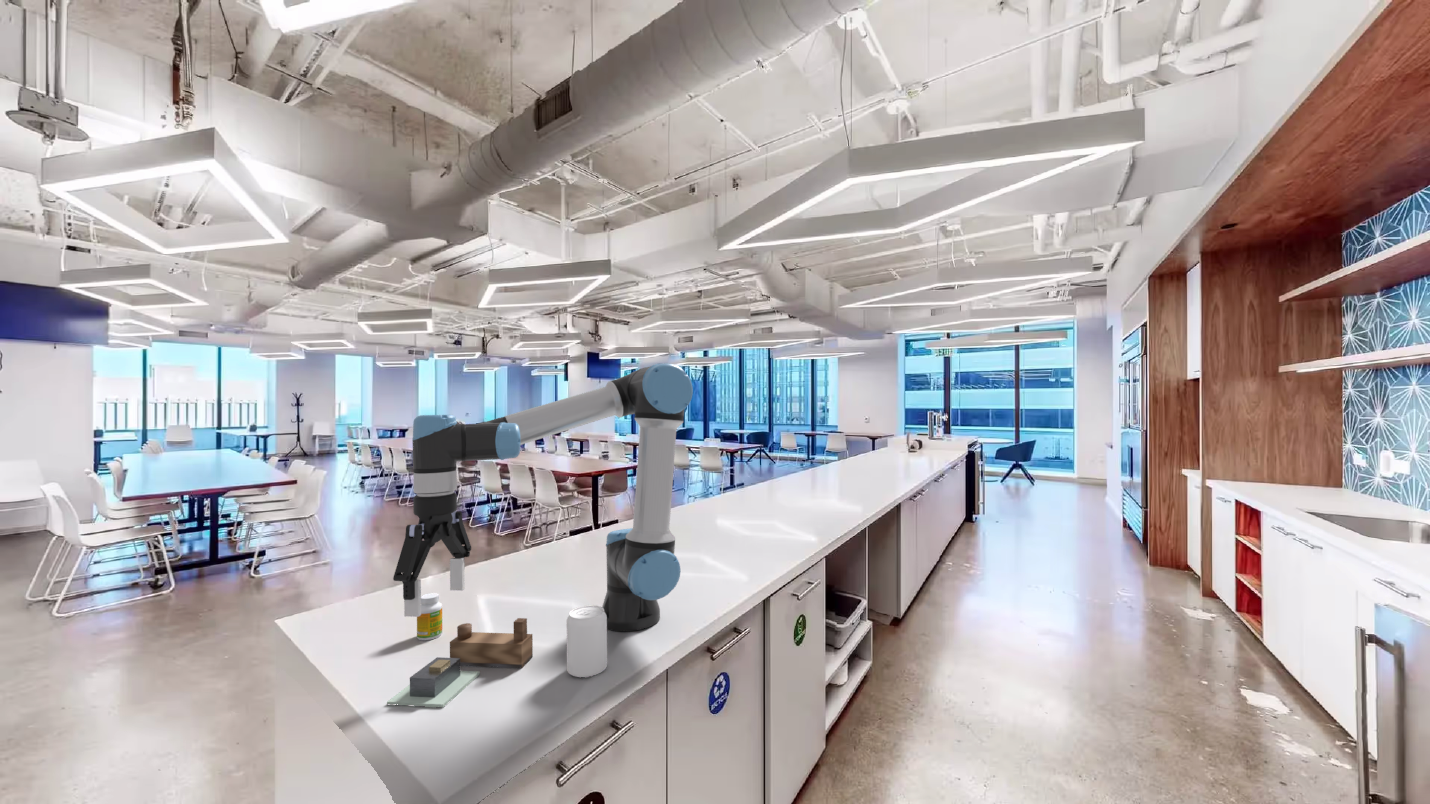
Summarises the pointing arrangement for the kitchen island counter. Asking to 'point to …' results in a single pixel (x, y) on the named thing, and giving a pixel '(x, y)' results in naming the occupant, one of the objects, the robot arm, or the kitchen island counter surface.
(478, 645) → the hand plane
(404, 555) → the robot arm
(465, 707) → the kitchen island counter surface
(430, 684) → the dark grey rectangular block
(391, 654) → the kitchen island counter surface
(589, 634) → the beverage can
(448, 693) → the mat
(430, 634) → the supplement bottle
